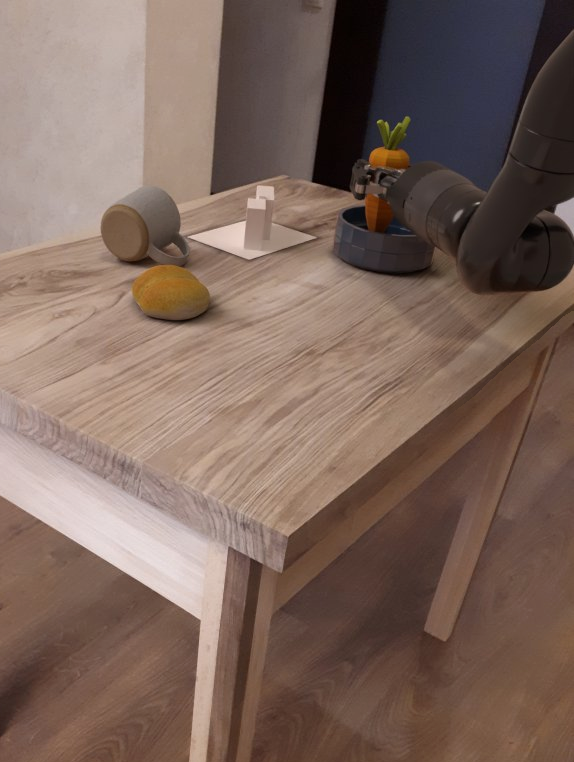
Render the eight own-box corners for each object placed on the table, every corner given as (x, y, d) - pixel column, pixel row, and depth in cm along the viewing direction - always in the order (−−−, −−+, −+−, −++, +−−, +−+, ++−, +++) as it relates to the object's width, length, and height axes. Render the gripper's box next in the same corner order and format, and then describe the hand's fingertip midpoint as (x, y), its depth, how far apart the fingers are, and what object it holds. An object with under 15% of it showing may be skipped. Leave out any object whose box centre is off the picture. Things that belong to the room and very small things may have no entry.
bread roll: (148, 326, 83) (149, 289, 81) (125, 294, 90) (125, 259, 88) (221, 319, 86) (224, 283, 84) (193, 288, 93) (195, 254, 90)
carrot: (351, 242, 103) (372, 116, 94) (360, 232, 107) (381, 110, 98) (389, 249, 102) (414, 122, 93) (396, 239, 106) (421, 115, 97)
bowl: (386, 237, 113) (394, 201, 110) (453, 268, 104) (462, 230, 101) (312, 247, 107) (317, 209, 104) (375, 281, 98) (383, 241, 95)
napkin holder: (255, 217, 117) (259, 176, 114) (318, 237, 111) (324, 195, 108) (185, 237, 108) (188, 193, 104) (250, 260, 102) (255, 214, 98)
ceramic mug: (95, 257, 99) (95, 193, 94) (129, 239, 105) (130, 179, 100) (170, 277, 96) (174, 212, 91) (200, 258, 102) (205, 196, 97)
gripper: (505, 170, 87) (436, 137, 101) (384, 169, 85) (330, 135, 98) (486, 238, 92) (423, 198, 105) (371, 240, 89) (321, 198, 102)
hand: (378, 167), depth 102 cm, fingers closed on carrot, 5 cm apart
